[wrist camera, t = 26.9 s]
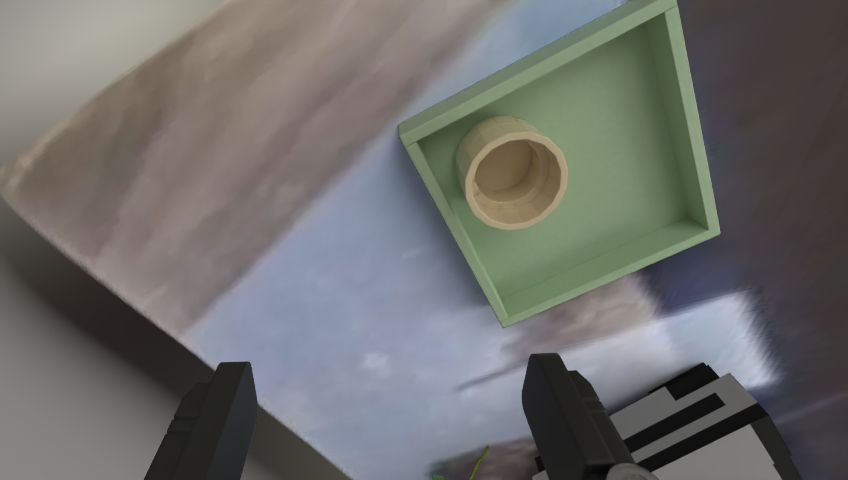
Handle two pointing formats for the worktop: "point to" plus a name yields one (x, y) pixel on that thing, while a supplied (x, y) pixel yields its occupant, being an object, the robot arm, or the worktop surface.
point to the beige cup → (510, 172)
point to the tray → (582, 160)
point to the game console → (702, 432)
